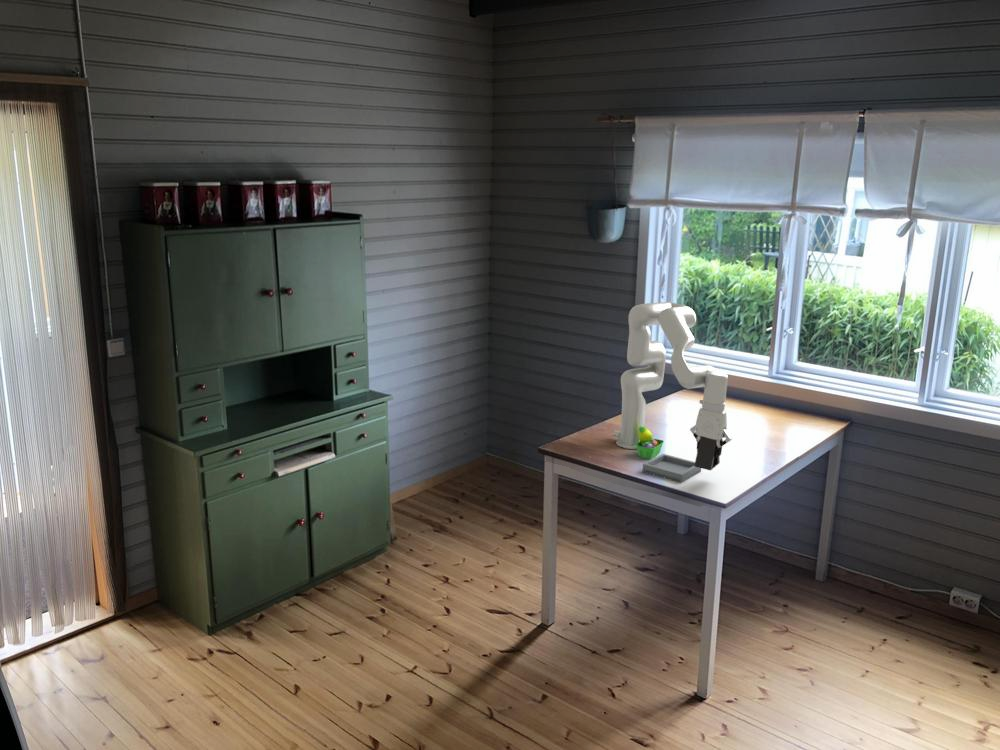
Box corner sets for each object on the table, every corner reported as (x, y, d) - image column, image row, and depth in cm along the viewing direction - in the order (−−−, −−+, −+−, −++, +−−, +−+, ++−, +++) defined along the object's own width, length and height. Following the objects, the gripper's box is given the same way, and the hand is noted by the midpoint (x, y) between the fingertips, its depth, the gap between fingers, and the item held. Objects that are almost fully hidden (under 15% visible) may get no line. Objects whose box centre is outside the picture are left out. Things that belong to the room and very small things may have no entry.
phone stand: (710, 470, 281) (713, 438, 278) (694, 466, 284) (697, 434, 281) (719, 463, 288) (723, 431, 285) (703, 459, 291) (707, 428, 288)
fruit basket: (652, 461, 308) (654, 433, 305) (631, 456, 312) (633, 429, 310) (663, 452, 317) (665, 425, 314) (643, 448, 322) (644, 421, 319)
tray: (642, 471, 297) (643, 464, 296) (662, 461, 308) (663, 453, 307) (681, 482, 287) (682, 474, 286) (700, 471, 298) (701, 463, 297)
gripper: (686, 403, 283) (681, 450, 288) (732, 414, 272) (726, 463, 277) (696, 398, 288) (691, 445, 293) (741, 409, 278) (735, 457, 283)
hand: (708, 453), depth 285 cm, fingers closed on phone stand, 6 cm apart
